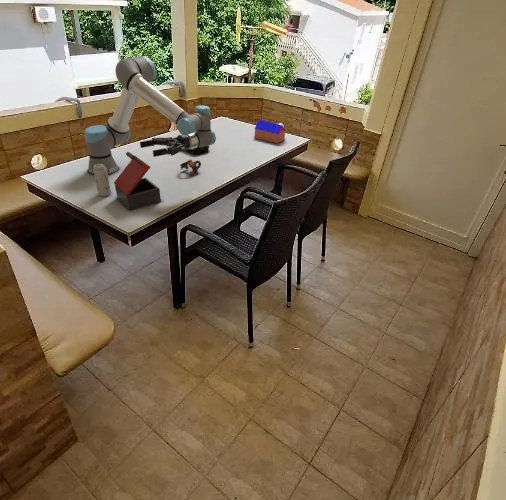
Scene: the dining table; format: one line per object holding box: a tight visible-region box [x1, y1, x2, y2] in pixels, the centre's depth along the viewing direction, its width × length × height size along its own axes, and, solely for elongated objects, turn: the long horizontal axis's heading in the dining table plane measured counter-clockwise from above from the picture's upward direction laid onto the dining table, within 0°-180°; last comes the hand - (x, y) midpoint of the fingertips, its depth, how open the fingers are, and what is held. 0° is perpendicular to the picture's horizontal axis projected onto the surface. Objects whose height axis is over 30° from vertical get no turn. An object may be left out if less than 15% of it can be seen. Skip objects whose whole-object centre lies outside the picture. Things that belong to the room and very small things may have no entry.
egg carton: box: [172, 136, 210, 156], centre depth 234 cm, size 18×30×4 cm, turn 60°
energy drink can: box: [93, 164, 112, 197], centre depth 170 cm, size 6×6×15 cm
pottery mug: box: [180, 159, 202, 176], centre depth 201 cm, size 12×10×8 cm
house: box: [254, 119, 287, 144], centre depth 256 cm, size 12×20×12 cm, turn 58°
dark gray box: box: [114, 177, 162, 211], centre depth 170 cm, size 16×15×7 cm
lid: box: [113, 151, 151, 196], centre depth 160 cm, size 17×15×8 cm
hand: (146, 149), depth 162 cm, fingers open, 13 cm apart
